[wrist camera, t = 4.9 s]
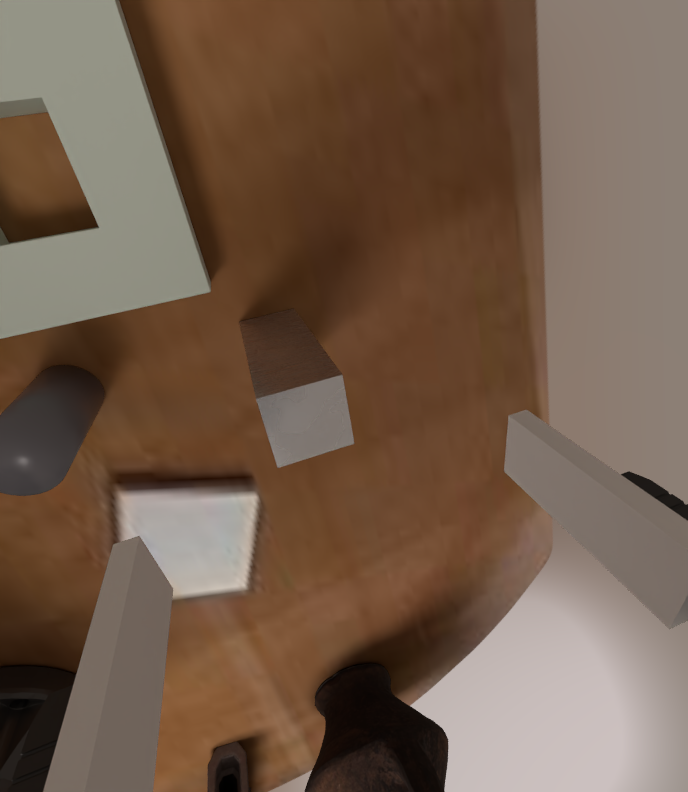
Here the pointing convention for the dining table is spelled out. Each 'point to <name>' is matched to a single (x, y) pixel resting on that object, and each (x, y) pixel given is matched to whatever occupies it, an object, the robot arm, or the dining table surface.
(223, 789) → the tube
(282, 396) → the square peg
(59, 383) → the round peg
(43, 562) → the dining table surface
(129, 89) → the socket board
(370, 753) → the jug
